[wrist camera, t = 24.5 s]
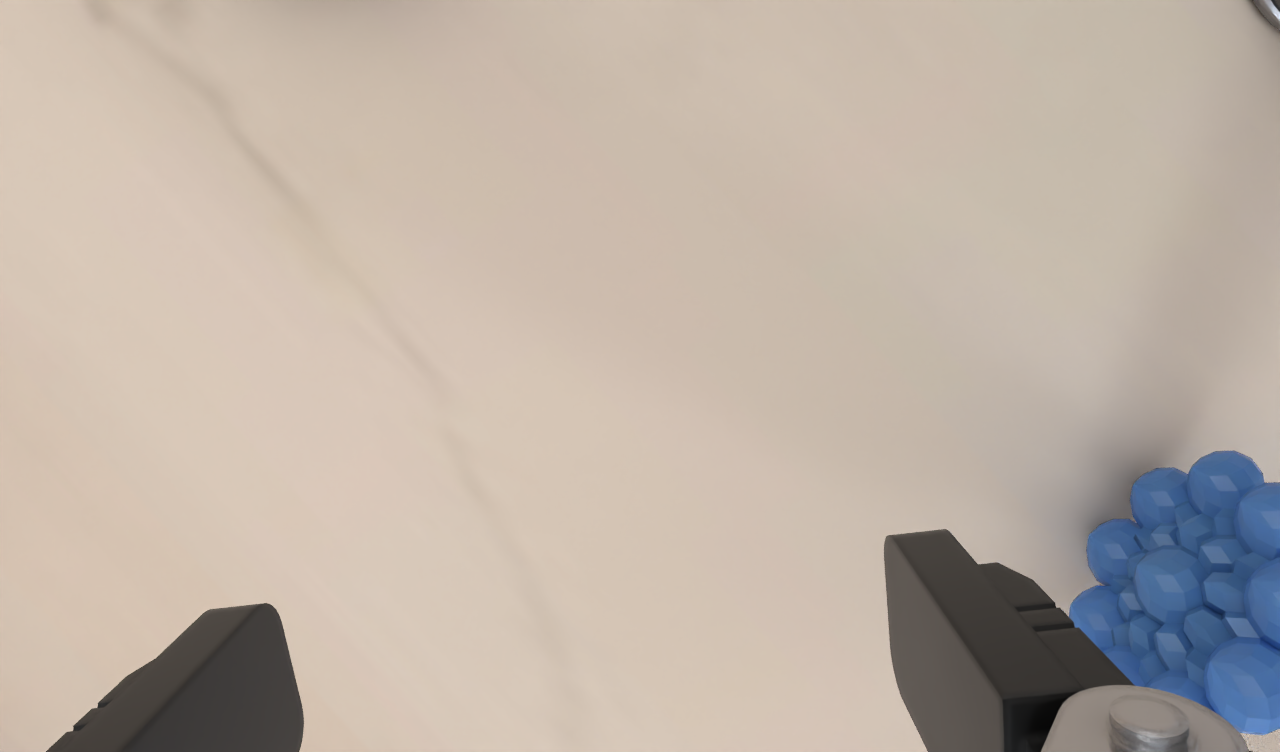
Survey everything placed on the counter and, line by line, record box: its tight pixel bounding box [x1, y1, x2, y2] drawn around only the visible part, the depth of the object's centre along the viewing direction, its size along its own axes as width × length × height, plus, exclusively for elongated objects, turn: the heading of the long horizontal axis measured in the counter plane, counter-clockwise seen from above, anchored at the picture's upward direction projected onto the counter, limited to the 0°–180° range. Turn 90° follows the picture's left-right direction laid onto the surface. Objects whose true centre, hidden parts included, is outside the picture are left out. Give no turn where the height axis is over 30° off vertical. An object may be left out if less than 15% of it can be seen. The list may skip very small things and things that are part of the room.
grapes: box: [1069, 451, 1280, 735], centre depth 32 cm, size 12×7×12 cm, turn 150°
